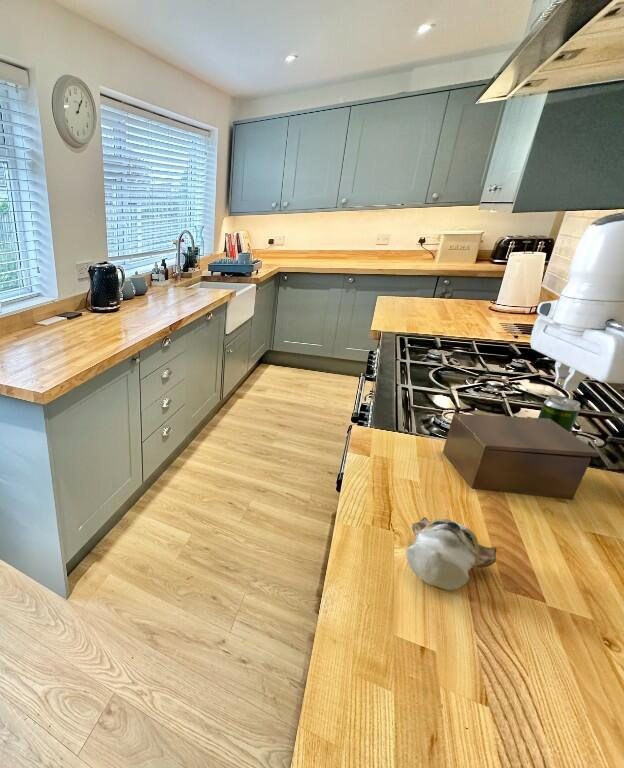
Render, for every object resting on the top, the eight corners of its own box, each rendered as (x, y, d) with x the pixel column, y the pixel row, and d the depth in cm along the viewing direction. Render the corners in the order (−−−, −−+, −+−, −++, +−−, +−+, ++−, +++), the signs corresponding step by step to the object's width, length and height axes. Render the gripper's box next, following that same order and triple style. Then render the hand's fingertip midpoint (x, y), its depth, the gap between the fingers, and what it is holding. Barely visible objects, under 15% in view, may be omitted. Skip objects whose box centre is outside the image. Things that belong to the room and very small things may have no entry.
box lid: (548, 421, 85) (549, 418, 84) (598, 457, 73) (599, 453, 72) (452, 416, 90) (453, 413, 89) (484, 449, 78) (485, 445, 77)
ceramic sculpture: (395, 524, 61) (429, 487, 69) (382, 570, 64) (416, 529, 72) (489, 567, 53) (514, 519, 62) (469, 618, 56) (495, 565, 65)
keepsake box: (528, 460, 88) (542, 423, 85) (573, 499, 76) (591, 458, 73) (442, 452, 93) (452, 417, 90) (471, 488, 81) (484, 449, 78)
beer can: (566, 458, 88) (588, 407, 84) (533, 454, 90) (552, 404, 86) (554, 446, 93) (573, 397, 88) (522, 442, 95) (540, 394, 90)
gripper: (671, 329, 61) (634, 413, 66) (574, 301, 79) (551, 369, 84) (615, 328, 63) (583, 411, 68) (532, 302, 81) (512, 368, 86)
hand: (564, 388), depth 76 cm, fingers closed
